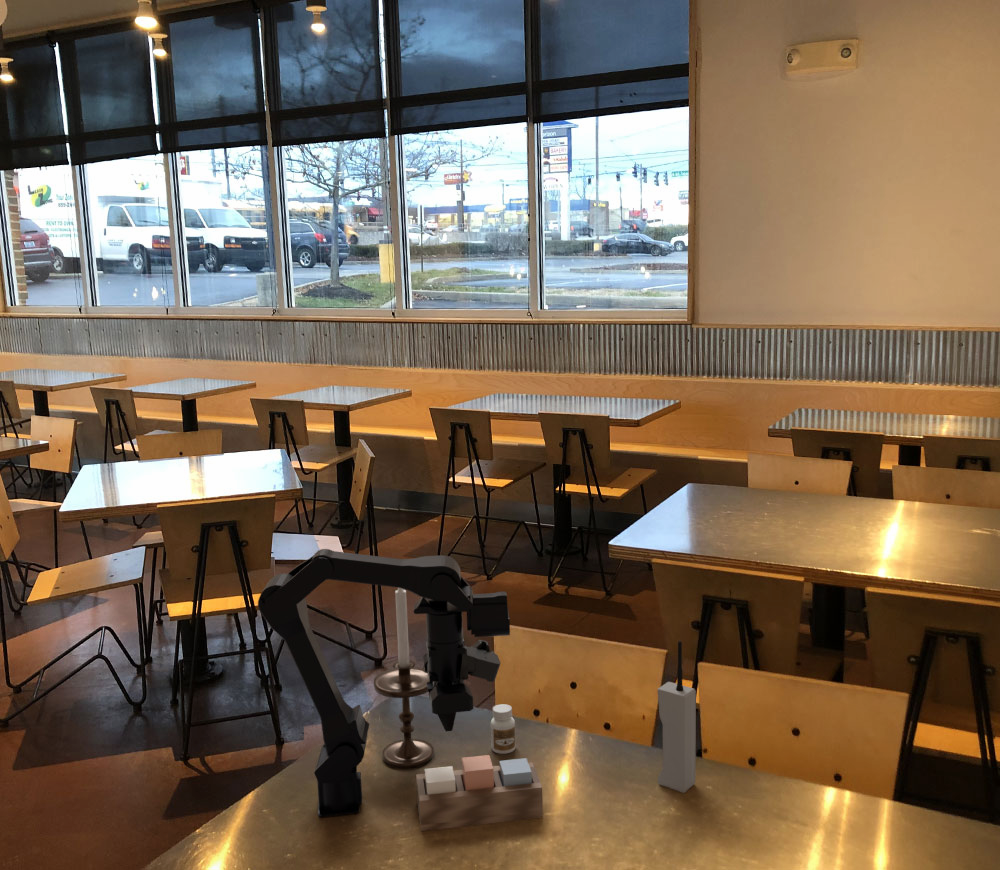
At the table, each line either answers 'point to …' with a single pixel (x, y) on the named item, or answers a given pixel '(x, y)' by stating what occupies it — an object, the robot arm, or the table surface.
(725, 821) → the table surface
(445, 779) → the key white
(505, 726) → the pill bottle
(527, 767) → the key slate
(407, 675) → the candlestick
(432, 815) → the key housing
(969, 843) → the table surface
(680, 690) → the vintage mobile phone
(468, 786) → the key terracotta
